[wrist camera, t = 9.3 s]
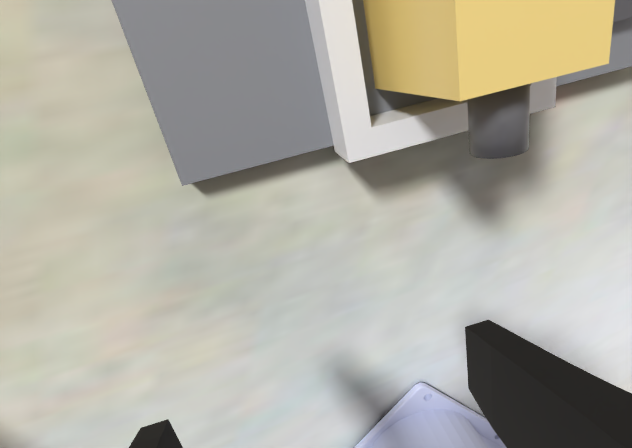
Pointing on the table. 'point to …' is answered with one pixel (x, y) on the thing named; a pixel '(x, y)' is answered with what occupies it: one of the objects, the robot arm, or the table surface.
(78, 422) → the table surface
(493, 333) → the robot arm
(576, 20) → the plug
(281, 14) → the grey boxy piece
